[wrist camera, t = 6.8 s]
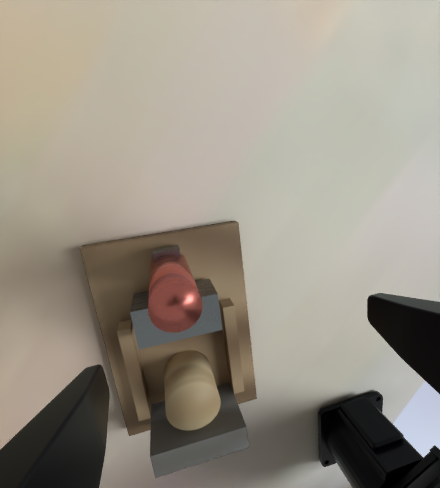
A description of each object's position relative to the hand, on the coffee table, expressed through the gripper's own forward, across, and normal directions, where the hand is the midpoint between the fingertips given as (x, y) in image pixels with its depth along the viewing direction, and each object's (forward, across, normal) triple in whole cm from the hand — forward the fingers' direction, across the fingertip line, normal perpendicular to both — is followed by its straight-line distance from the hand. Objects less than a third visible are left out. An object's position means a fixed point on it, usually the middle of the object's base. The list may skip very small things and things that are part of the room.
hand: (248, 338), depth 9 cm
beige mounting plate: (+11, +2, +5) cm, 12 cm away
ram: (+10, +2, +1) cm, 10 cm away
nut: (+10, +2, +8) cm, 13 cm away
